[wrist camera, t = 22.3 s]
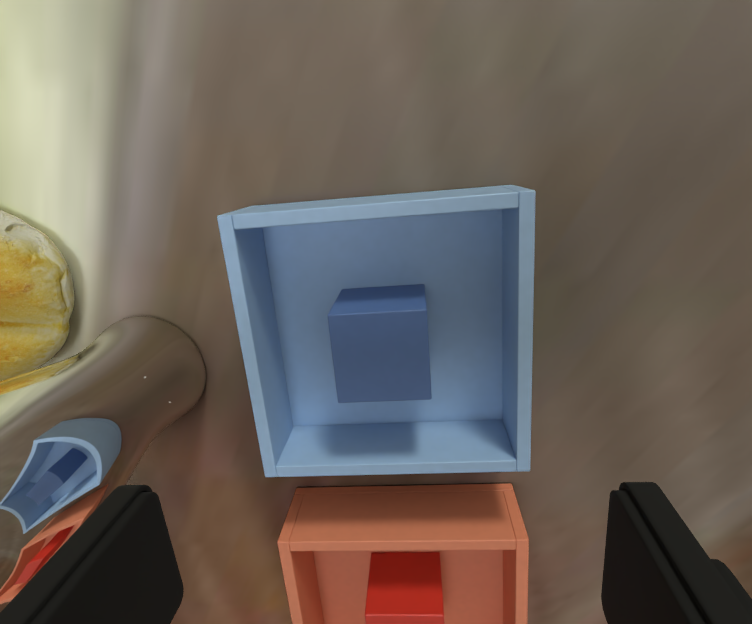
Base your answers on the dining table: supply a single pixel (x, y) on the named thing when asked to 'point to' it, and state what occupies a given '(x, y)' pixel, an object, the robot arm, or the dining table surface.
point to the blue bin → (445, 328)
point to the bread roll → (31, 297)
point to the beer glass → (84, 434)
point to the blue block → (380, 344)
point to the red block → (404, 589)
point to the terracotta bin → (406, 548)
